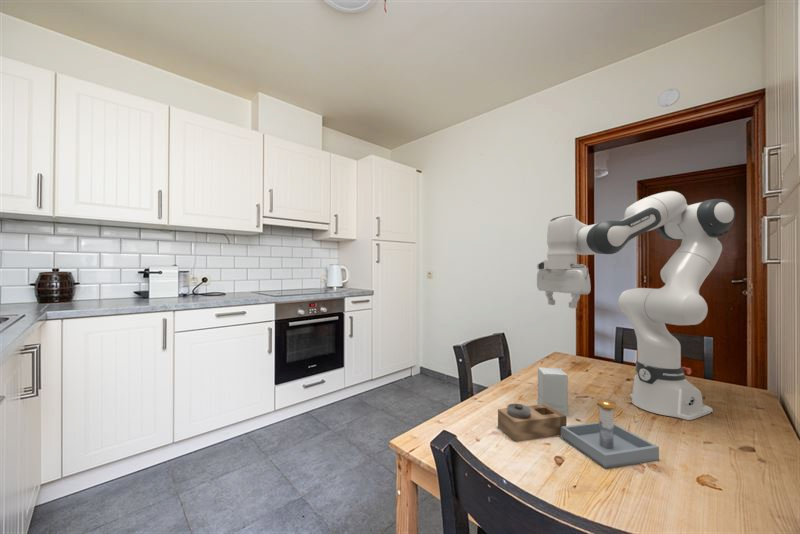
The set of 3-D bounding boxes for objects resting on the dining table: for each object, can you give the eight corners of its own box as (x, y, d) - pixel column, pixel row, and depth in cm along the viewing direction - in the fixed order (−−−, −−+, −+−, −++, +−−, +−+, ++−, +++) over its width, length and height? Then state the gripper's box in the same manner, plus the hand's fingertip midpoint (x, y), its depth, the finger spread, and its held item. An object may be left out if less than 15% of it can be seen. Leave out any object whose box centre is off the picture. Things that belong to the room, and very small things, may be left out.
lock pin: (605, 440, 83) (606, 397, 83) (619, 448, 79) (620, 404, 79) (593, 442, 82) (593, 399, 82) (606, 450, 78) (606, 405, 78)
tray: (608, 431, 88) (608, 420, 89) (658, 459, 75) (658, 446, 75) (560, 438, 85) (561, 426, 85) (605, 468, 72) (605, 455, 72)
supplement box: (568, 416, 97) (568, 375, 98) (542, 414, 99) (542, 373, 99) (561, 406, 105) (561, 368, 105) (537, 404, 106) (537, 366, 106)
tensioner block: (546, 421, 94) (546, 395, 94) (566, 434, 87) (566, 407, 87) (497, 426, 90) (498, 400, 91) (514, 441, 83) (514, 412, 83)
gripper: (596, 263, 96) (596, 309, 96) (548, 265, 116) (548, 303, 115) (578, 263, 94) (578, 310, 94) (533, 264, 114) (533, 303, 114)
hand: (561, 306), depth 105 cm, fingers open, 8 cm apart
